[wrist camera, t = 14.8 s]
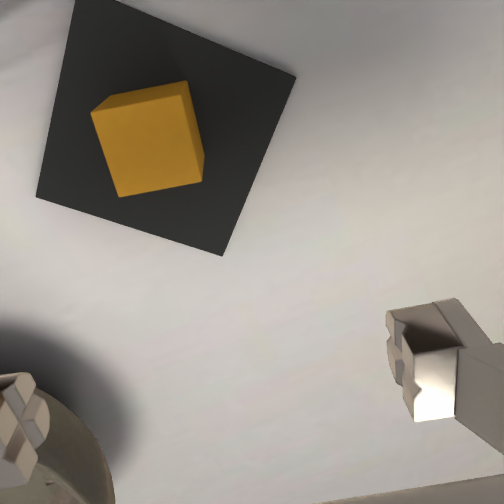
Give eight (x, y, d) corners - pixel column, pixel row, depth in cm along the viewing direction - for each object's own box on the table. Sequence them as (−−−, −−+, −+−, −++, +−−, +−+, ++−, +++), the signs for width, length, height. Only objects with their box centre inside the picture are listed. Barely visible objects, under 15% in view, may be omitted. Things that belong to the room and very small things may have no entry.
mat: (80, -15, 24) (78, -15, 24) (295, 76, 27) (296, 77, 26) (37, 194, 29) (35, 197, 29) (222, 253, 32) (222, 256, 31)
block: (109, 95, 26) (89, 112, 22) (186, 79, 26) (181, 93, 22) (132, 170, 28) (118, 198, 24) (204, 156, 28) (202, 182, 24)
